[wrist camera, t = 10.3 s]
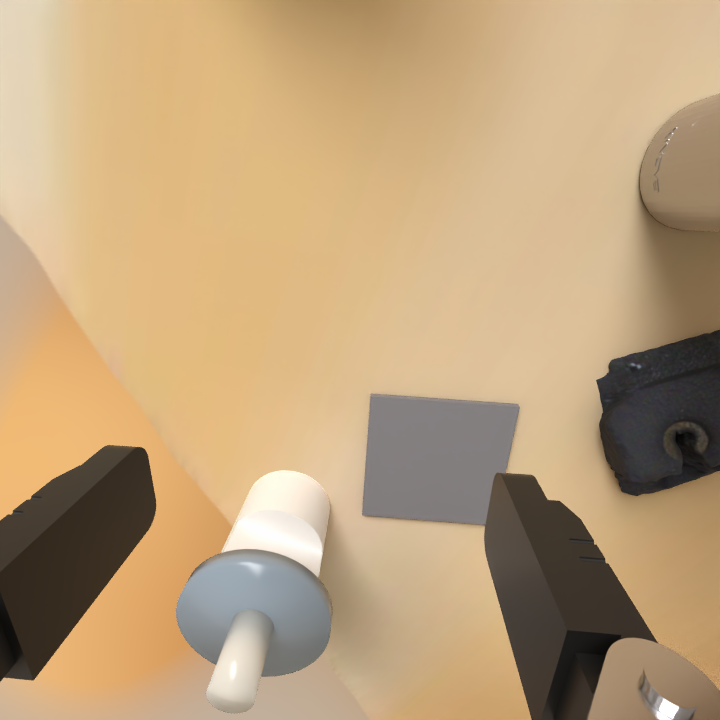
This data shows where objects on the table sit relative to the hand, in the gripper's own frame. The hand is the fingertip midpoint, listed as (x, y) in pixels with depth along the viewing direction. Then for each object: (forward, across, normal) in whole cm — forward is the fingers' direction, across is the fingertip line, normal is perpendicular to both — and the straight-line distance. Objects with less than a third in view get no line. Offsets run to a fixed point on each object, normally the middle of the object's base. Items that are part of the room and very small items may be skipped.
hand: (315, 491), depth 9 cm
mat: (+28, -7, +17) cm, 34 cm away
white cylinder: (+28, +8, +24) cm, 37 cm away
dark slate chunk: (+29, -33, +10) cm, 45 cm away
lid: (+15, +8, +24) cm, 30 cm away
